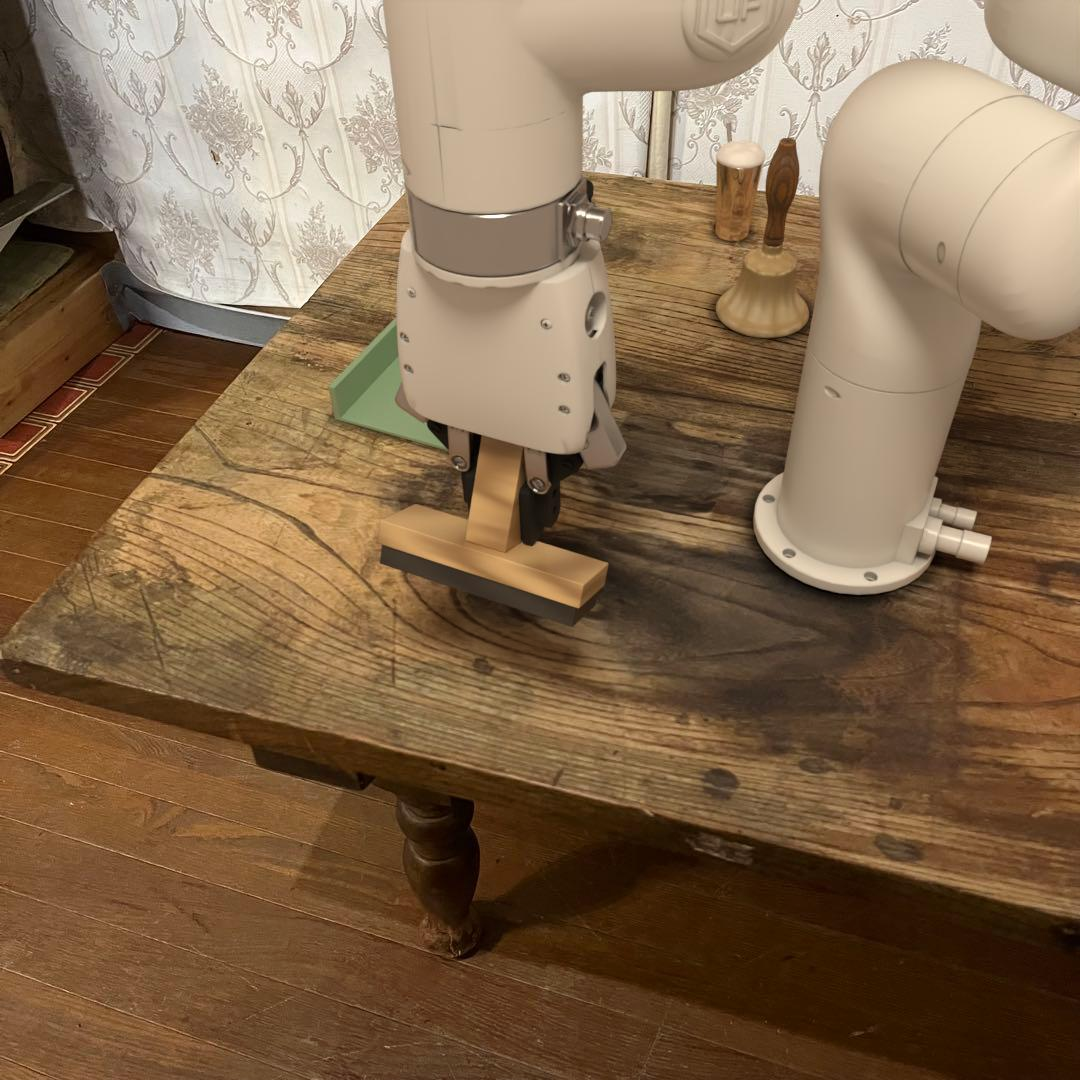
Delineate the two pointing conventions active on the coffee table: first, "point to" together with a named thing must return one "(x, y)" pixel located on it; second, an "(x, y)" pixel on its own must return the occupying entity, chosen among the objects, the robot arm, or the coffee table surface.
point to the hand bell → (769, 264)
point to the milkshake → (736, 186)
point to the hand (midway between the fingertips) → (512, 518)
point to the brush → (493, 546)
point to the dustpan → (377, 392)
